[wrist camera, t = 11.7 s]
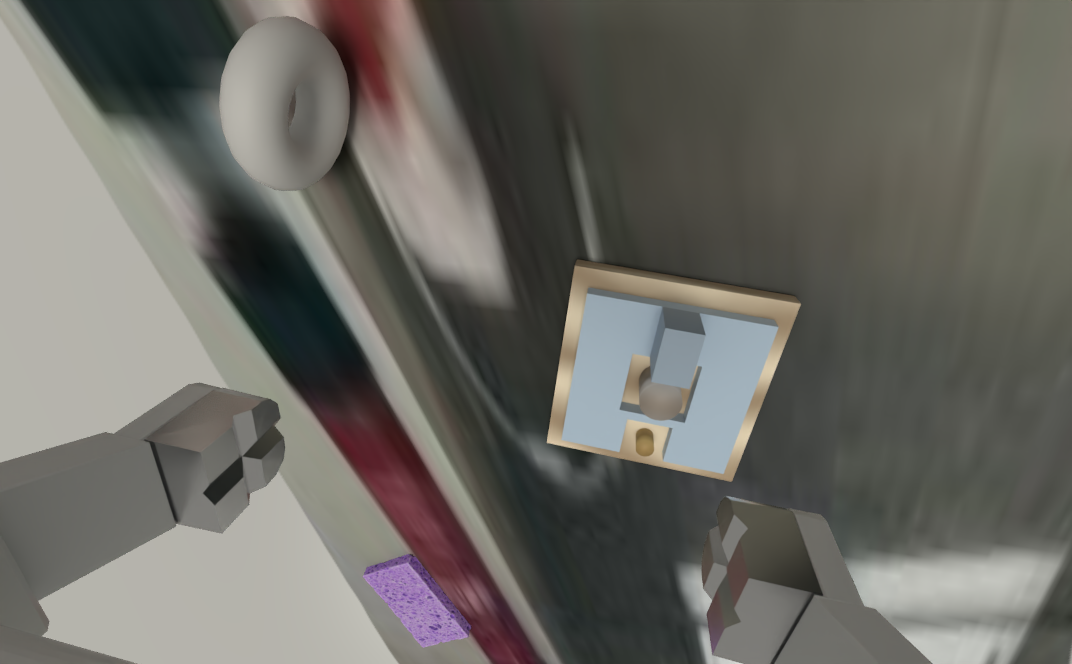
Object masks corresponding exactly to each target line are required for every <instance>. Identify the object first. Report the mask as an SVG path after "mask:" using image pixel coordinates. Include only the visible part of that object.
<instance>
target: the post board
mask: <svg viewBox="0 0 1072 664" xmlns="http://www.w3.org/2000/svg"><path fill="white" fill-rule="evenodd" d="M588 288H595V289H600V290H606V291H612V292H617V293H623V294H629V295H635V296H640V297H646V298H652V299H658V300H663V301H669V302H675V303H680V304H686V305H692V306H698V307H703V308H709V309H715V310H721V311H726V312H732V313H738V314H743V315H749V316H755V317H761V318H766V319H772V320H775V322H776V323H777V325H778V327H779V328H778V331H777V333H776V336H775V339H774V341H773V344H772V346H771V349H770V352H769V354H768V357H767V360H766V362H765V365H764V368H763V370H762V373H761V376H760V378H759V381H758V384H757V386H756V389H755V392H754V394H753V397H752V400H751V402H750V405H749V408H748V410H747V413H746V416H745V418H744V421H743V424H742V426H741V429H740V431H739V434H738V437H737V439H736V442H735V445H734V447H733V450H732V453H731V455H730V458H729V461H728V463H727V466H726V469H725V471H724V474H721V473H716V472H712V471H707V470H702V469H697V468H692V467H688V466H683V465H678V464H673V463H669V462H664V461H663V456H662V451H663V447H664V444H665V441H666V437H667V434H668V430H669V427H664V426H659V425H654V424H649V423H644V422H639V421H634V420H629V419H627V423H626V427H625V431H624V435H623V439H622V443H621V447H620V451H619V452H616V451H611V450H607V449H602V448H597V447H592V446H588V445H583V444H578V443H573V442H569V441H564V440H561V439H562V434H563V428H564V422H565V417H566V411H567V405H568V399H569V394H570V388H571V382H572V377H573V371H574V365H575V360H576V354H577V348H578V342H579V337H580V331H581V325H582V320H583V314H584V308H585V302H586V297H587V292H588ZM800 305H801V303H800V302H799V301H798V300H797V298H796V297H795V296H792V295H786V294H780V293H774V292H768V291H762V290H756V289H750V288H744V287H738V286H733V285H727V284H721V283H715V282H709V281H703V280H697V279H691V278H685V277H679V276H673V275H667V274H661V273H655V272H649V271H643V270H637V269H632V268H626V267H620V266H614V265H608V264H602V263H596V262H590V261H584V260H578V259H577V261H576V264H575V268H574V274H573V280H572V287H571V293H570V299H569V305H568V312H567V318H566V324H565V331H564V337H563V343H562V350H561V356H560V362H559V369H558V375H557V381H556V387H555V394H554V400H553V406H552V413H551V419H550V425H549V432H548V438H547V443H551V444H555V445H560V446H565V447H570V448H574V449H579V450H584V451H589V452H593V453H598V454H603V455H608V456H612V457H617V458H622V459H627V460H631V461H636V462H641V463H646V464H650V465H655V466H660V467H665V468H669V469H674V470H679V471H684V472H688V473H693V474H698V475H703V476H707V477H712V478H717V479H722V480H726V481H731V482H732V480H733V477H734V475H735V472H736V469H737V467H738V464H739V462H740V459H741V457H742V454H743V451H744V449H745V446H746V444H747V441H748V439H749V436H750V433H751V431H752V428H753V426H754V423H755V421H756V418H757V415H758V413H759V410H760V408H761V405H762V403H763V400H764V398H765V395H766V392H767V390H768V387H769V385H770V382H771V380H772V377H773V374H774V372H775V369H776V367H777V364H778V362H779V359H780V356H781V354H782V351H783V349H784V346H785V344H786V341H787V338H788V336H789V333H790V331H791V328H792V326H793V323H794V320H795V318H796V315H797V313H798V310H799V308H800ZM697 369H698V366H696V369H695V373H694V376H693V379H692V382H691V386H690V389H686V388H680V387H675V386H670V385H665V384H660V383H654V382H651V369H650V357H648V356H642V355H637V354H632V359H631V363H630V367H629V371H628V376H627V380H626V384H625V388H624V393H623V397H622V401H621V402H626V403H631V404H636V405H639V406H640V409H641V411H642V412H643V413H644V414H645V415H646V416H647V417H649V418H651V419H654V420H658V421H664V420H669V419H671V418H673V417H675V416H676V415H677V414H678V413H682V414H684V411H685V408H686V404H687V401H688V398H689V395H690V391H691V388H692V385H693V382H694V378H695V375H696V372H697Z"/></svg>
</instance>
